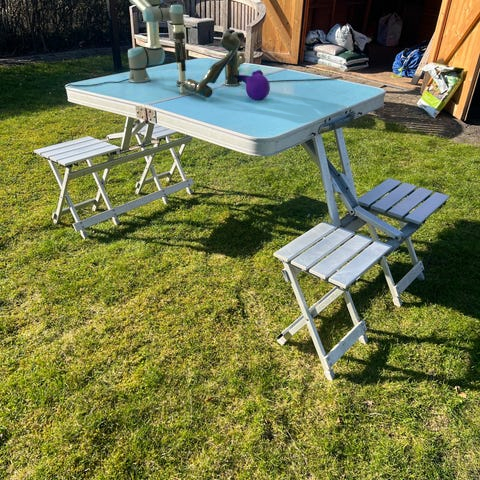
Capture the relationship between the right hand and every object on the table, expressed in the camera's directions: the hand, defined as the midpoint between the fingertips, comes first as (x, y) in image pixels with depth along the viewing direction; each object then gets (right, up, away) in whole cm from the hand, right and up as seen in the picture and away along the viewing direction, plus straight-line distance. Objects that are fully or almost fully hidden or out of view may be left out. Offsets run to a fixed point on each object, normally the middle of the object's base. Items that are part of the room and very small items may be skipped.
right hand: (180, 81), depth 303 cm
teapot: (+35, +34, +69) cm, 84 cm away
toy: (+48, -17, -19) cm, 55 cm away
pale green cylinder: (+2, -7, +1) cm, 7 cm away
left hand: (+1, +6, -6) cm, 8 cm away
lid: (+1, +9, -8) cm, 12 cm away
